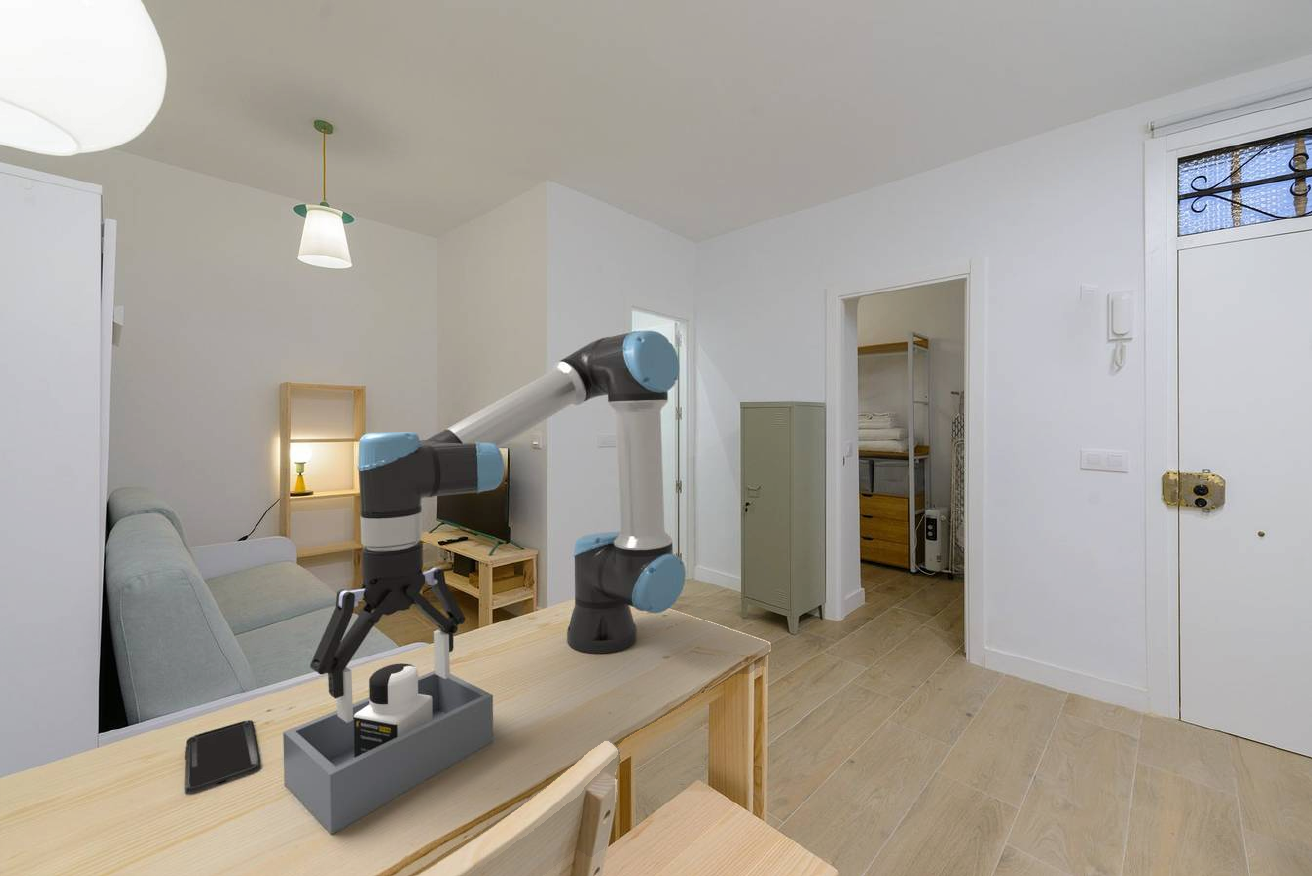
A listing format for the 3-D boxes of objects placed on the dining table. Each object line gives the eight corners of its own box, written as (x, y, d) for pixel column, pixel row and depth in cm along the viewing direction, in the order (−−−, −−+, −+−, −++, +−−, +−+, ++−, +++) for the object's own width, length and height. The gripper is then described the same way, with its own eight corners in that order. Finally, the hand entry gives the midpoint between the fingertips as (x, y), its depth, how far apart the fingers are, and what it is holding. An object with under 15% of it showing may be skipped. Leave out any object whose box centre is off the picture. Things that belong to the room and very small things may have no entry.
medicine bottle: (353, 766, 71) (351, 678, 70) (392, 735, 78) (391, 655, 77) (397, 775, 69) (396, 685, 68) (434, 743, 76) (433, 661, 75)
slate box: (440, 710, 86) (439, 668, 86) (493, 741, 78) (492, 694, 78) (284, 784, 68) (283, 732, 68) (331, 834, 60) (330, 775, 60)
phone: (252, 718, 83) (261, 765, 71) (252, 725, 83) (261, 773, 71) (185, 737, 77) (183, 791, 66) (185, 745, 77) (183, 800, 66)
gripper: (458, 525, 85) (461, 654, 85) (275, 560, 65) (282, 729, 65) (486, 531, 80) (489, 667, 81) (300, 570, 60) (307, 751, 61)
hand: (397, 695), depth 73 cm, fingers open, 13 cm apart
